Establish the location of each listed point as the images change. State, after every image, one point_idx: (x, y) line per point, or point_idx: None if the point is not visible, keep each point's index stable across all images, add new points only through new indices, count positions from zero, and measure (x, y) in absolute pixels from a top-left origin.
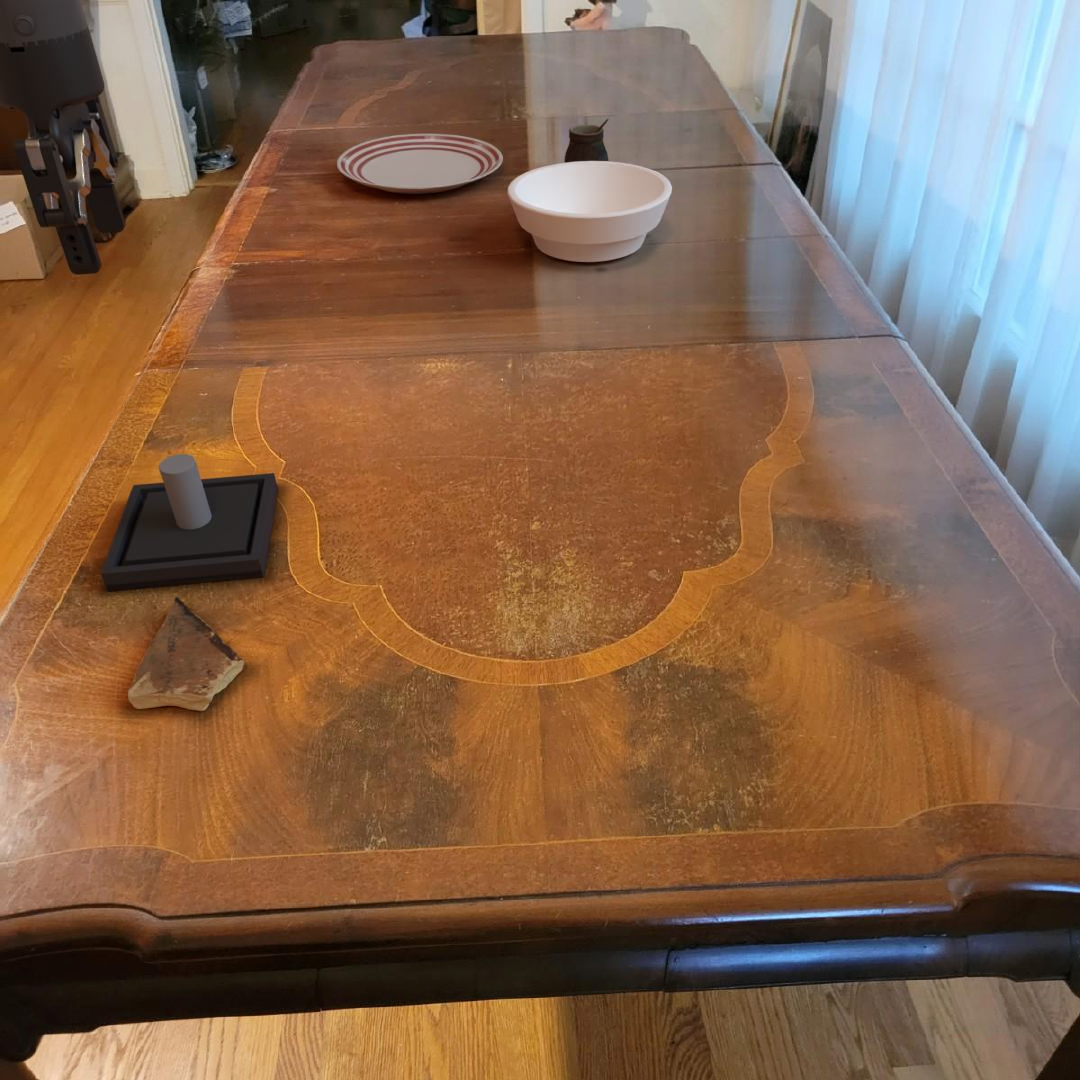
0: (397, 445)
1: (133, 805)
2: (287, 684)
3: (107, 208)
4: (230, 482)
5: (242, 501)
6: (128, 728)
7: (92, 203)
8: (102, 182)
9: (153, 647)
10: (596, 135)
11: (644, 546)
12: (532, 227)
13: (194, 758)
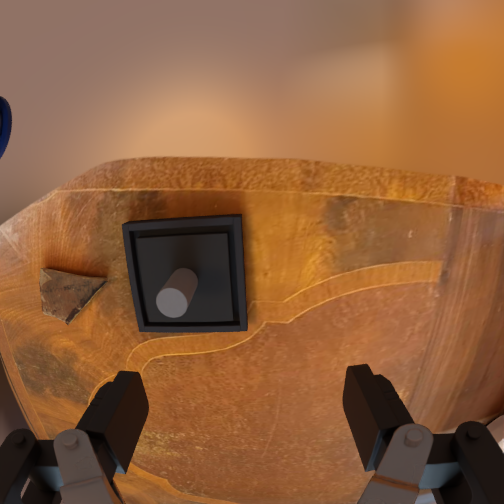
0: (296, 391)
1: (8, 279)
2: (69, 340)
3: (358, 421)
4: (238, 299)
5: (207, 313)
6: (36, 267)
7: (366, 409)
8: (378, 465)
9: (67, 276)
10: None
11: (183, 474)
12: (496, 432)
13: (28, 301)
